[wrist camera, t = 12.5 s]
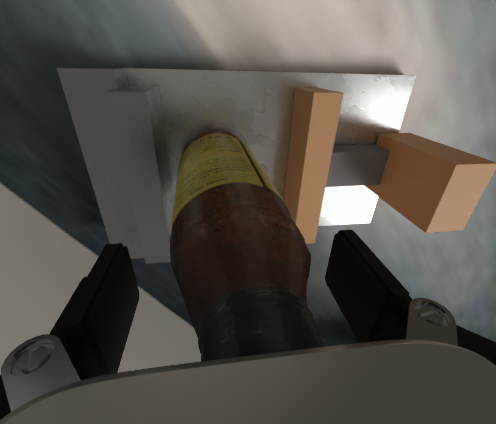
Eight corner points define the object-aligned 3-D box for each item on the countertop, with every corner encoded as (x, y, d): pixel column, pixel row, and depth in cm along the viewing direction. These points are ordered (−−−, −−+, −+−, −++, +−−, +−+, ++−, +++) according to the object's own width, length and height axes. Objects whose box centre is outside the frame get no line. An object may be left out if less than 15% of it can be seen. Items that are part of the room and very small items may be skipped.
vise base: (403, 74, 22) (471, 78, 16) (362, 215, 29) (400, 252, 23) (87, 66, 18) (37, 68, 13) (128, 229, 25) (107, 277, 20)
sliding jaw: (423, 89, 21) (531, 102, 14) (381, 214, 27) (443, 266, 20) (295, 87, 20) (345, 101, 13) (281, 220, 26) (310, 279, 19)
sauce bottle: (166, 177, 22) (38, 592, 5) (203, 111, 20) (213, 433, 3) (232, 210, 24) (302, 556, 7) (271, 155, 22) (499, 460, 5)
